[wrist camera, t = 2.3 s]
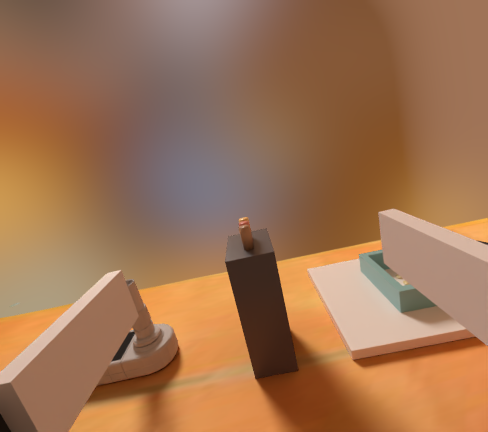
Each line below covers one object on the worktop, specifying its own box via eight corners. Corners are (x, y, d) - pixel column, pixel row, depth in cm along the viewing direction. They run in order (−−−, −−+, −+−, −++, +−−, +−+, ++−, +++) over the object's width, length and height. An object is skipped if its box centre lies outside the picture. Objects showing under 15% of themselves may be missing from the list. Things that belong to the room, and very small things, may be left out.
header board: (352, 359, 24) (348, 327, 23) (308, 275, 39) (304, 254, 38) (580, 316, 23) (585, 281, 22) (443, 247, 38) (442, 225, 37)
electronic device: (34, 296, 30) (157, 266, 30) (69, 362, 33) (184, 336, 32) (-8, 327, 25) (140, 292, 24) (38, 403, 28) (173, 373, 27)
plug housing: (255, 378, 24) (219, 239, 21) (252, 333, 30) (223, 218, 26) (298, 370, 24) (269, 228, 20) (286, 326, 30) (262, 209, 26)
